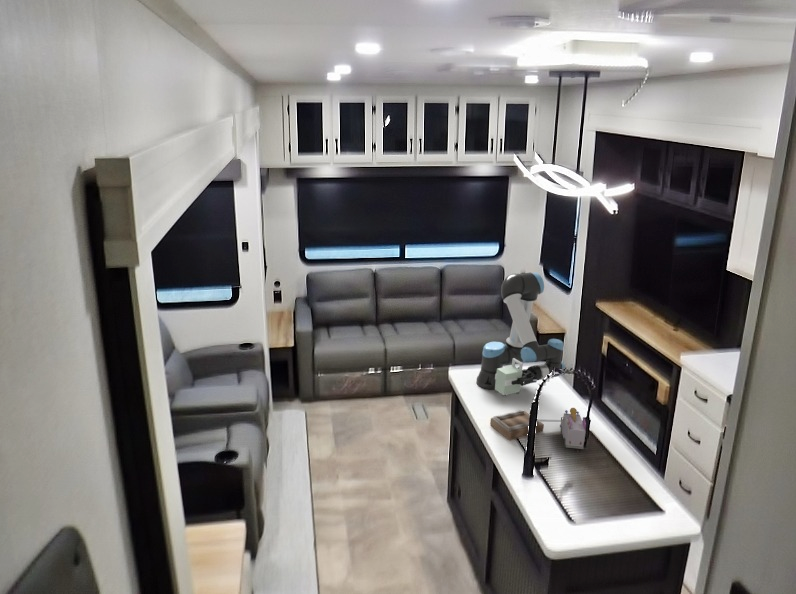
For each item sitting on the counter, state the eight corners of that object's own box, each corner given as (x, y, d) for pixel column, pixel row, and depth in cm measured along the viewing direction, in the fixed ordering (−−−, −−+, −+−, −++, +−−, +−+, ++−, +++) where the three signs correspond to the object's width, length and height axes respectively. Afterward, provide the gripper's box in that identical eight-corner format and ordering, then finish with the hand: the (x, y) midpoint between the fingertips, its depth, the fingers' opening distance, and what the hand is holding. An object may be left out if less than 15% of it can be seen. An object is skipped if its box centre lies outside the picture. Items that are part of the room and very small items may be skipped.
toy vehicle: (576, 431, 301) (581, 403, 297) (584, 453, 283) (589, 423, 278) (557, 429, 302) (561, 401, 297) (563, 451, 283) (568, 421, 279)
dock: (522, 416, 311) (523, 407, 310) (542, 431, 299) (544, 421, 297) (489, 424, 302) (491, 414, 300) (509, 440, 289) (510, 430, 288)
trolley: (510, 387, 309) (514, 357, 304) (519, 393, 303) (523, 363, 298) (494, 391, 304) (497, 360, 299) (503, 397, 298) (506, 366, 294)
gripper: (550, 387, 303) (512, 395, 292) (523, 371, 319) (487, 378, 308) (552, 373, 300) (514, 381, 290) (525, 358, 317) (488, 364, 306)
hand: (500, 380), depth 299 cm, fingers closed on trolley, 7 cm apart
